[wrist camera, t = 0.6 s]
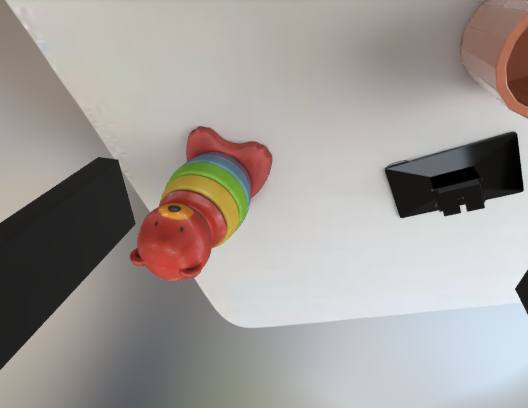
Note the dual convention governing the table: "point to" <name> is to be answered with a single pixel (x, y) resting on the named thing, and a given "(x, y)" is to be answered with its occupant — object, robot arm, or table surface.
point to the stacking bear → (201, 205)
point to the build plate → (457, 177)
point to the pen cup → (499, 51)
